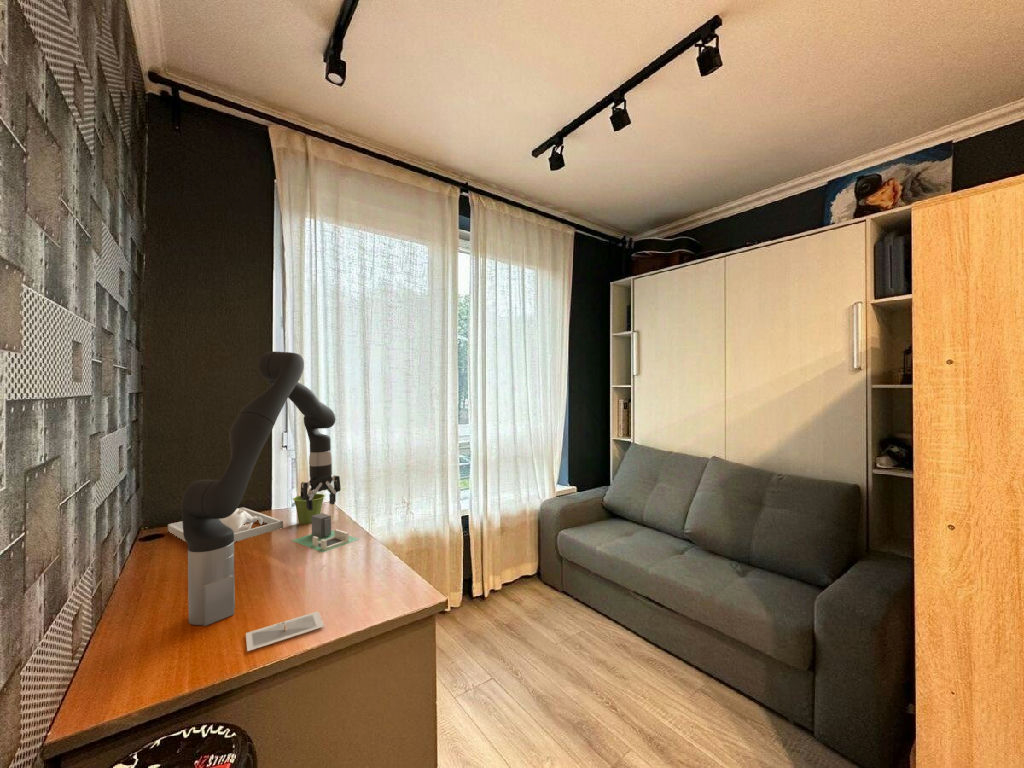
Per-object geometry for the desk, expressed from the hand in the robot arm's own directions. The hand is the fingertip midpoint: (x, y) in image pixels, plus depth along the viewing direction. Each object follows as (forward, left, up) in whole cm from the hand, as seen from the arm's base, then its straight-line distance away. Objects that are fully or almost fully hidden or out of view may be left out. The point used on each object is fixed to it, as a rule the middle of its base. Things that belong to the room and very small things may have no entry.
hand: (321, 506), depth 152 cm
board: (-6, +2, -12) cm, 13 cm away
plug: (0, 0, -10) cm, 10 cm away
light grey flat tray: (+42, +16, -12) cm, 46 cm away
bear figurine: (+36, +16, -12) cm, 41 cm away
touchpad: (-49, +37, -13) cm, 63 cm away
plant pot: (+20, -6, -12) cm, 24 cm away
